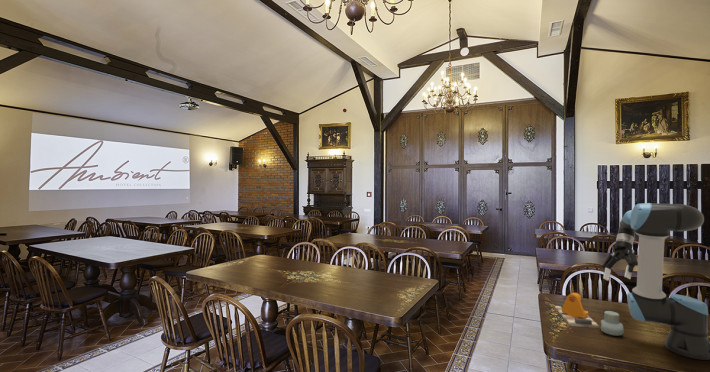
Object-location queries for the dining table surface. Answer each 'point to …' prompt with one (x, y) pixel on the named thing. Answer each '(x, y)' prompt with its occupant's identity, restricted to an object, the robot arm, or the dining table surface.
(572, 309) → the bracket
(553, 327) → the dining table surface
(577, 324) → the rail board
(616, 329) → the air freshener
